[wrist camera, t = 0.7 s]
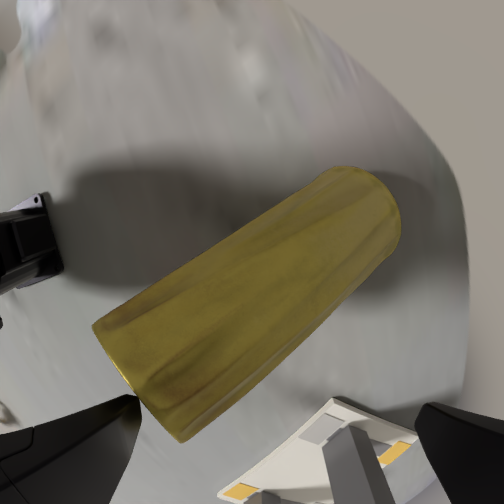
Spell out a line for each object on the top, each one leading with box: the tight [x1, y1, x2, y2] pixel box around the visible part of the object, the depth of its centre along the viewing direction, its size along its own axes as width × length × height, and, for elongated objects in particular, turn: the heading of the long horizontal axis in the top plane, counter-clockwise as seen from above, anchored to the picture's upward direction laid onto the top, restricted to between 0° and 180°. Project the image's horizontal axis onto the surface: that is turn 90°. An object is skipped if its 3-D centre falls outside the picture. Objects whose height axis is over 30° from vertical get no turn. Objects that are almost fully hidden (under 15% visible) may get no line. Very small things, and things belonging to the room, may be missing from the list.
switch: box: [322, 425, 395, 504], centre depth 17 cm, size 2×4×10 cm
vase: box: [92, 166, 401, 443], centre depth 13 cm, size 6×6×14 cm
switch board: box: [217, 397, 419, 504], centre depth 24 cm, size 13×19×1 cm
